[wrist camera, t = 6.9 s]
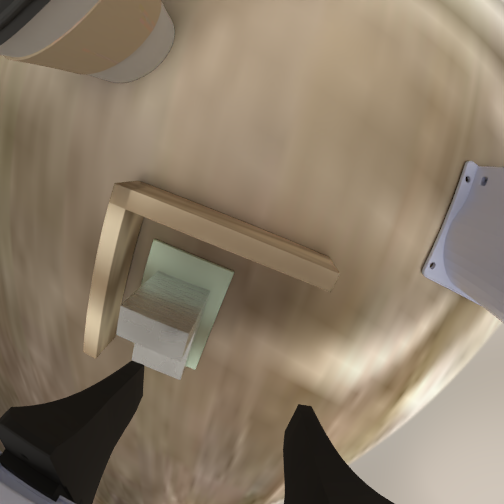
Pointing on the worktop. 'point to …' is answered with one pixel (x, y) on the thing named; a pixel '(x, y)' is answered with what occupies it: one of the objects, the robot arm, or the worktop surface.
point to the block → (163, 322)
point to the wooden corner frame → (183, 257)
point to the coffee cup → (88, 35)
